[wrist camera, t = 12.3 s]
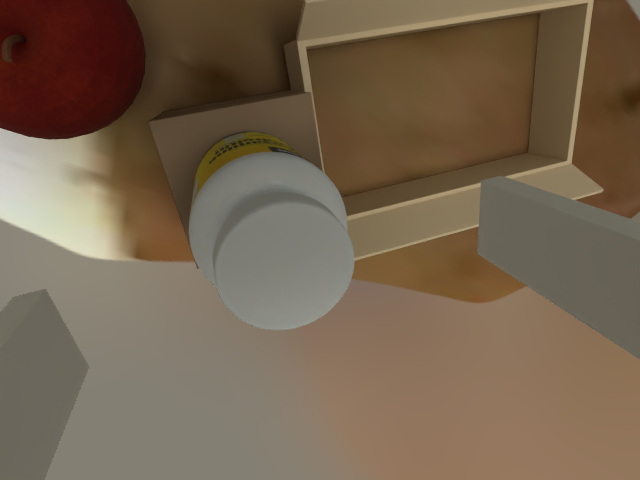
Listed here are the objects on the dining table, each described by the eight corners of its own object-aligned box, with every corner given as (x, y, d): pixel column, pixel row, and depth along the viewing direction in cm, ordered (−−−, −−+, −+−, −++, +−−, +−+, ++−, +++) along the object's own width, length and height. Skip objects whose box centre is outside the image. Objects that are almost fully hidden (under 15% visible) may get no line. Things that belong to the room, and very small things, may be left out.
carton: (278, 19, 27) (305, -3, 20) (547, -18, 31) (646, -48, 24) (314, 227, 33) (343, 264, 27) (530, 172, 38) (603, 192, 31)
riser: (163, 111, 27) (148, 121, 20) (284, 90, 28) (310, 92, 21) (199, 225, 31) (197, 268, 23) (304, 200, 32) (332, 233, 25)
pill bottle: (320, 156, 23) (414, 216, 13) (278, 247, 24) (332, 367, 14) (217, 109, 20) (230, 135, 10) (178, 214, 22) (154, 331, 12)
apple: (-46, -35, 21) (-227, -119, 12) (133, -42, 23) (88, -119, 14) (25, 136, 25) (-74, 164, 16) (173, 117, 27) (157, 133, 18)
